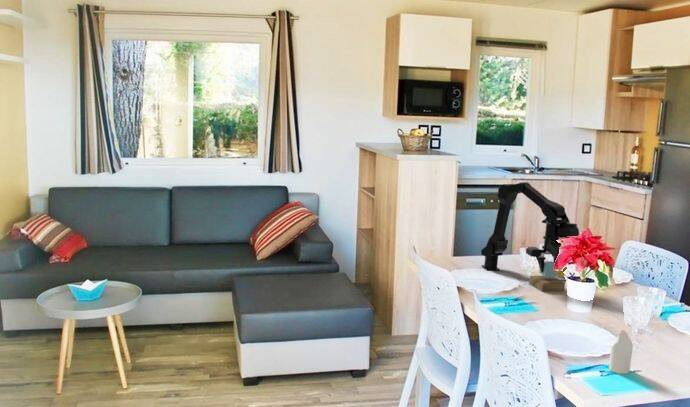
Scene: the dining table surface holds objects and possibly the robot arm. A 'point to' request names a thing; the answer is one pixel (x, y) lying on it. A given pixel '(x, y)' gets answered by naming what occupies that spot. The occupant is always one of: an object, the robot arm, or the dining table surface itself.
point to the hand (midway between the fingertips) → (548, 272)
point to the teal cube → (548, 269)
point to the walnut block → (547, 283)
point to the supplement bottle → (561, 274)
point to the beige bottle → (621, 354)
